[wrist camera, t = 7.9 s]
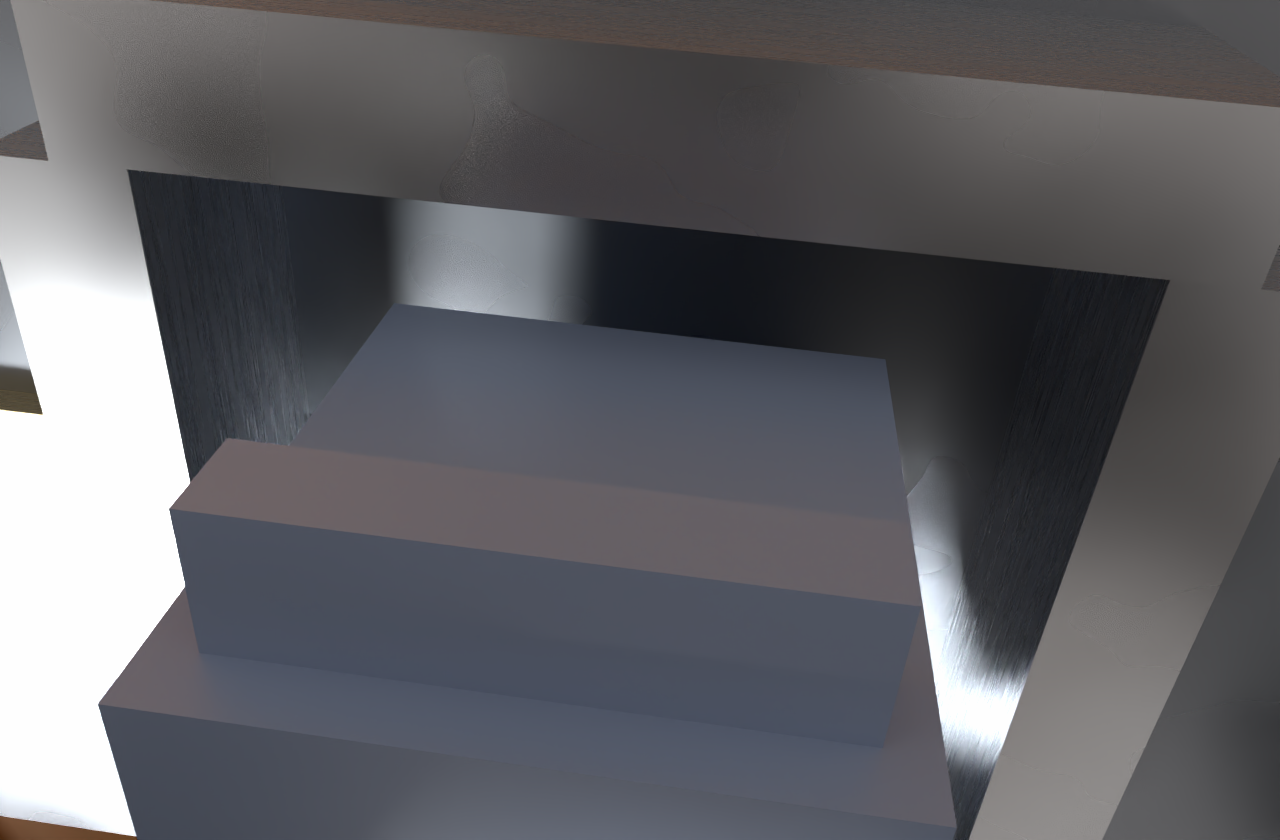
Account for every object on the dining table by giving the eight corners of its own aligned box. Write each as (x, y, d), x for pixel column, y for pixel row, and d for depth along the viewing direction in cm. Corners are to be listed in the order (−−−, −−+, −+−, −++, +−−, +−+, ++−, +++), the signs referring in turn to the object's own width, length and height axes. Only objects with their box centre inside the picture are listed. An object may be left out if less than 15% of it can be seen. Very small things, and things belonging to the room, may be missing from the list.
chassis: (1951, -59, 8) (2523, 29, 6) (1277, 958, 16) (1379, 1214, 13) (-387, -250, 10) (-854, -252, 7) (2, 770, 17) (-150, 965, 14)
